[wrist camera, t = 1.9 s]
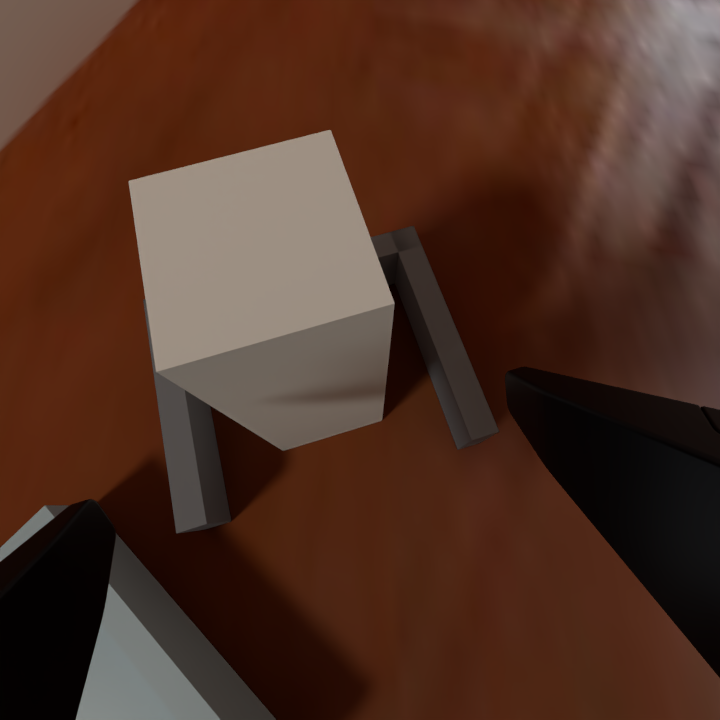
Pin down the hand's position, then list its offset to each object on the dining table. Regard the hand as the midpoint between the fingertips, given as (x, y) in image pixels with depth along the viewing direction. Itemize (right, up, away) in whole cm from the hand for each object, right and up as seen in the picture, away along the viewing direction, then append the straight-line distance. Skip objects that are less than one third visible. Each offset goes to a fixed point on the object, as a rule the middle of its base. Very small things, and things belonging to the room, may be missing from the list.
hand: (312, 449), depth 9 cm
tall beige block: (-1, 0, +12) cm, 12 cm away
